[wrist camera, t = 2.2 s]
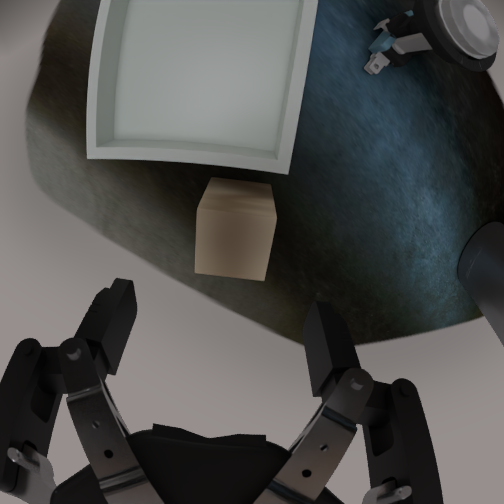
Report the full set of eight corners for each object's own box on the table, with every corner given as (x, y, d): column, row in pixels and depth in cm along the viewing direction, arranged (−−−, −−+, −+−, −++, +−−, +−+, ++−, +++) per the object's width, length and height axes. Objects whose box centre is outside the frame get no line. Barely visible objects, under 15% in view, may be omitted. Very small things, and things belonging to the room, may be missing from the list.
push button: (388, 94, 16) (478, 110, 8) (335, 48, 15) (403, 19, 6) (428, 44, 13) (517, 41, 5) (379, -2, 12) (455, -39, 3)
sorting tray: (310, -6, 12) (321, -22, 9) (282, 161, 20) (288, 174, 17) (127, -10, 11) (107, -22, 8) (109, 147, 19) (87, 158, 16)
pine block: (270, 184, 21) (276, 218, 16) (261, 235, 23) (264, 280, 18) (211, 177, 20) (197, 208, 15) (207, 229, 23) (194, 272, 18)
